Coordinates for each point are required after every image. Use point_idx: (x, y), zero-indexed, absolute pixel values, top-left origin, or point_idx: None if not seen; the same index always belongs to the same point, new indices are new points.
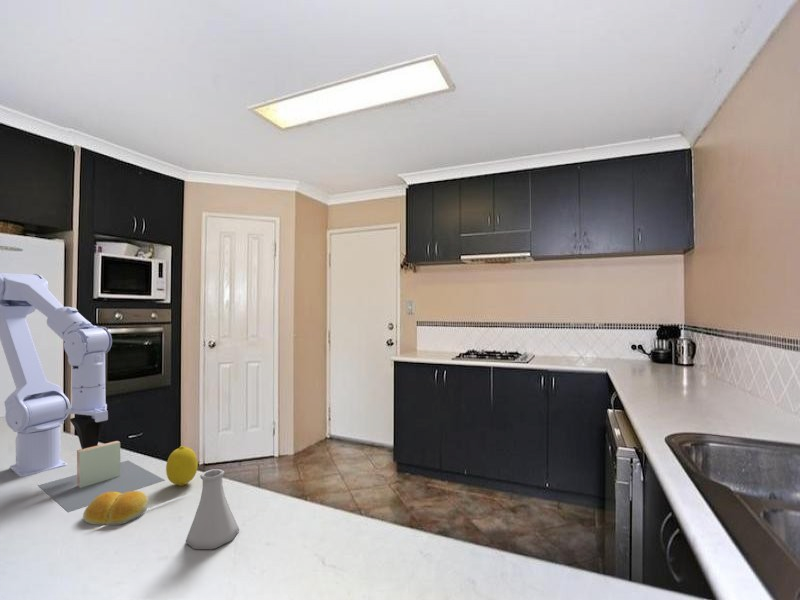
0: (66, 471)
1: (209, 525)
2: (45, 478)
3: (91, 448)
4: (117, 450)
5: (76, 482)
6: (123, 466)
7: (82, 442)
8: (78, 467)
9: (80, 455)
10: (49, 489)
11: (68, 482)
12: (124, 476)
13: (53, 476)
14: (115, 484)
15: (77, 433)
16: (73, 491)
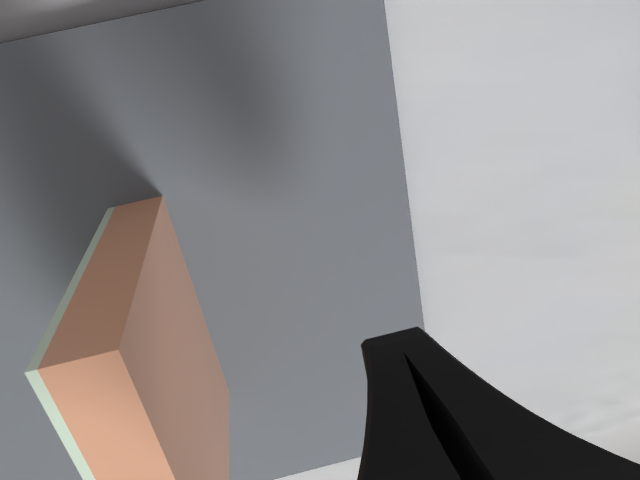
0: (565, 145)
1: None
2: (536, 19)
3: (94, 458)
4: None
5: (238, 193)
6: (345, 416)
7: (374, 395)
8: (109, 267)
9: (37, 352)
10: (218, 33)
11: (280, 150)
12: None
13: (533, 68)
14: None
15: (525, 417)
16: (57, 171)
